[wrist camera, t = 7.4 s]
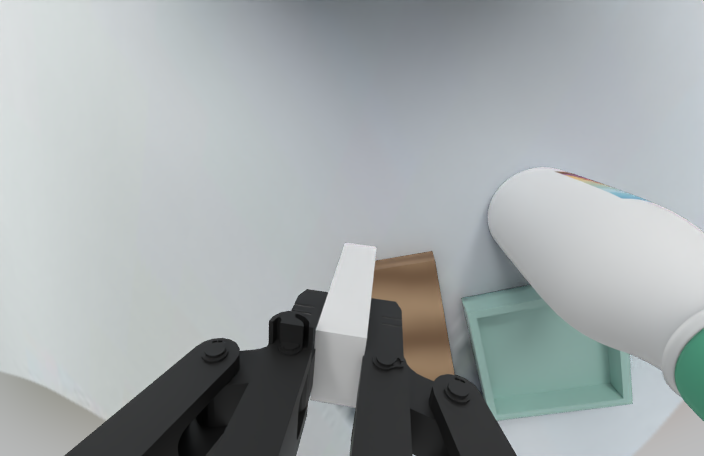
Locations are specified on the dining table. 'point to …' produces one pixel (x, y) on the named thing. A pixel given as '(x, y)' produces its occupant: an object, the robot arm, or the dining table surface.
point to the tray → (540, 358)
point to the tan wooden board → (417, 310)
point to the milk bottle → (610, 268)
